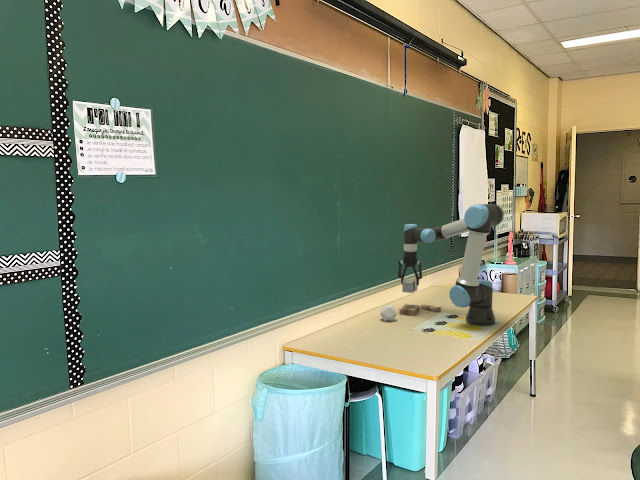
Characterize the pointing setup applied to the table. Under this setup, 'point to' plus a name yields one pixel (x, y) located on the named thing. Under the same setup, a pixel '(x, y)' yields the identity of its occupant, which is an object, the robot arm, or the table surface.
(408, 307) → the plinth
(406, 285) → the block
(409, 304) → the chalk box
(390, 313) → the die
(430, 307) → the felt eraser
